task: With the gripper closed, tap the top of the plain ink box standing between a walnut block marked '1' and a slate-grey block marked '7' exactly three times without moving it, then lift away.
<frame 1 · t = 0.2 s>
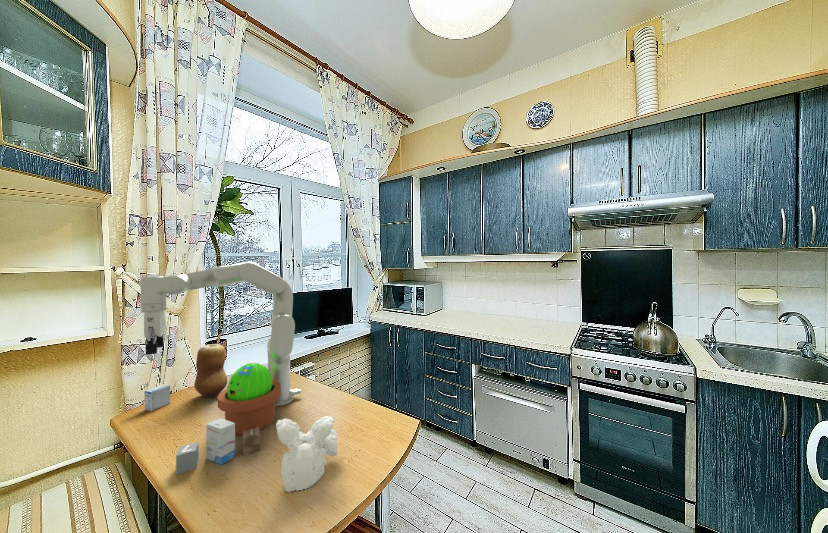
hand: (155, 350, 116), 31 cm above the table, tool pointing down, fingers open, 9 cm apart
slate block 7: (187, 466, 95), on the table
walnut block 1: (251, 449, 104), on the table
butternut squash: (211, 395, 145), on the table
potted cactus: (251, 423, 120), on the table
medicine box: (157, 407, 134), on the table
cauliflower: (309, 468, 94), on the table
ink box: (221, 458, 99), on the table
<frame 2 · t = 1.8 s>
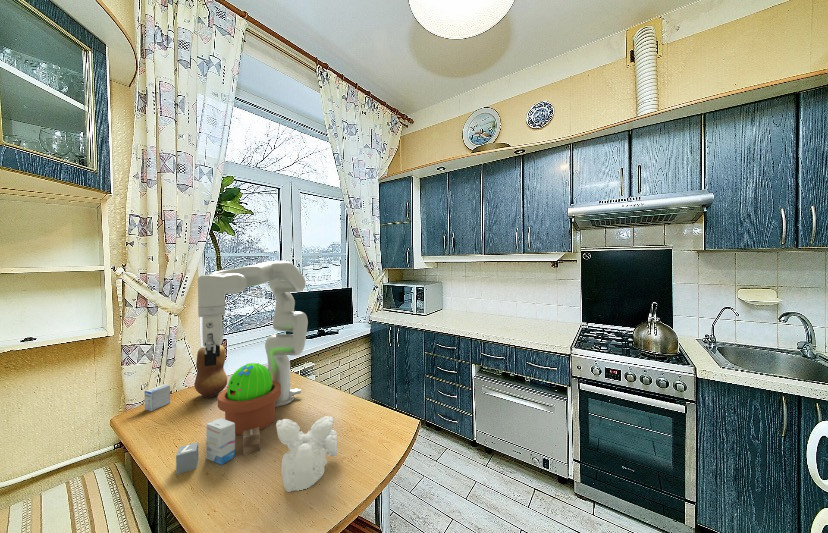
hand: (212, 360, 100), 32 cm above the table, tool pointing down, fingers open, 9 cm apart
nothing on the table moved.
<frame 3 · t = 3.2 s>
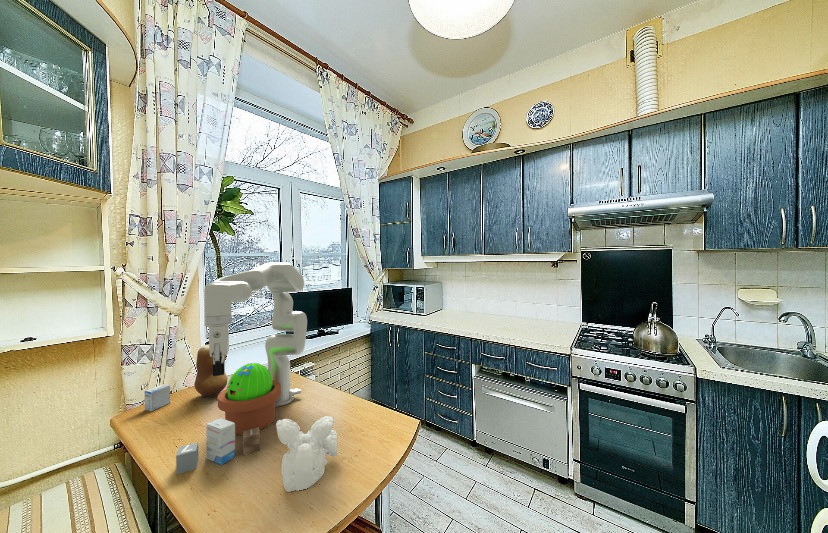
hand: (218, 374, 98), 28 cm above the table, tool pointing down, fingers closed
nothing on the table moved.
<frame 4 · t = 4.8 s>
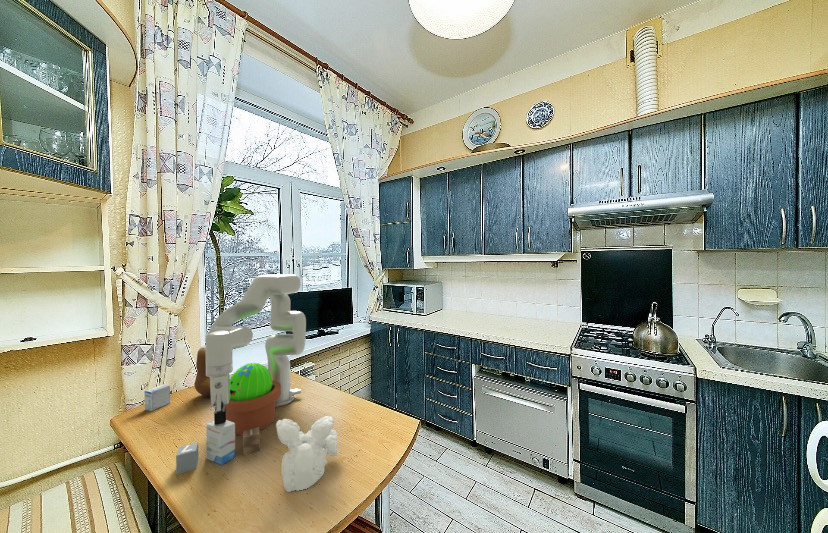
hand: (220, 422, 99), 12 cm above the table, tool pointing down, fingers closed
nothing on the table moved.
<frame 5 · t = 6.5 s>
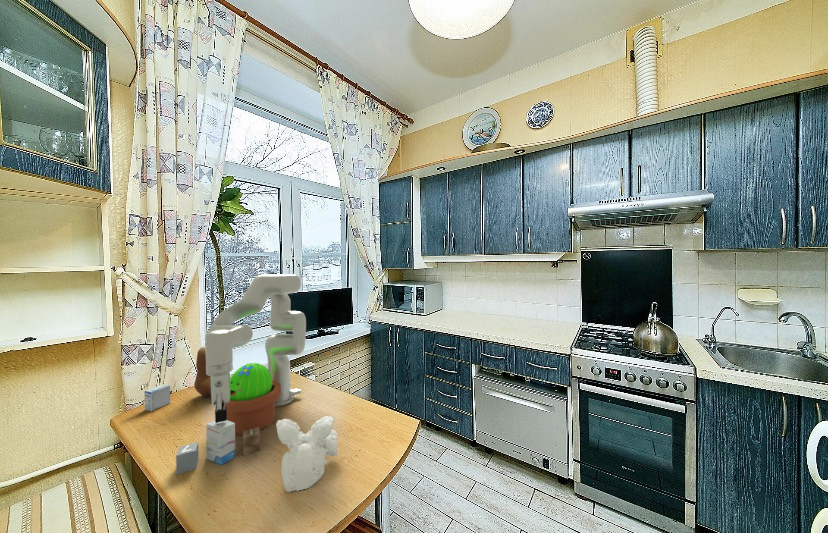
hand: (221, 420, 99), 12 cm above the table, tool pointing down, fingers closed
nothing on the table moved.
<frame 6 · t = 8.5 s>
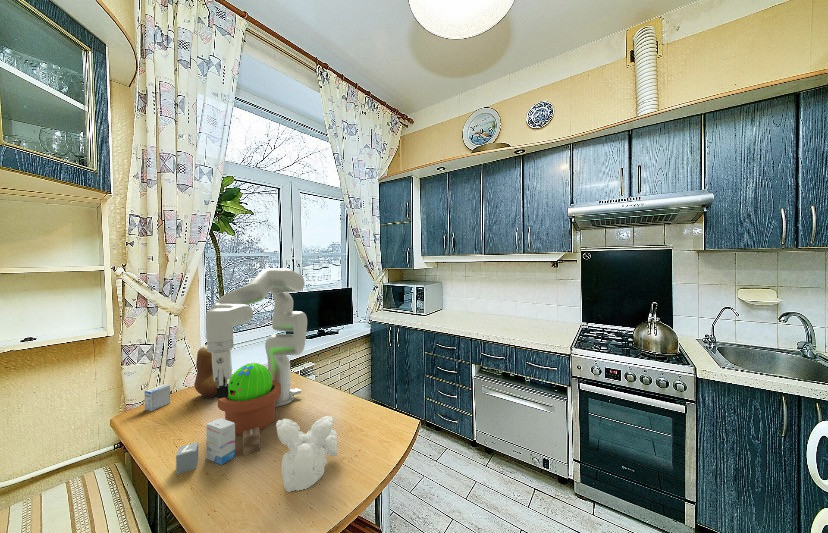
hand: (223, 396, 101), 20 cm above the table, tool pointing down, fingers closed
nothing on the table moved.
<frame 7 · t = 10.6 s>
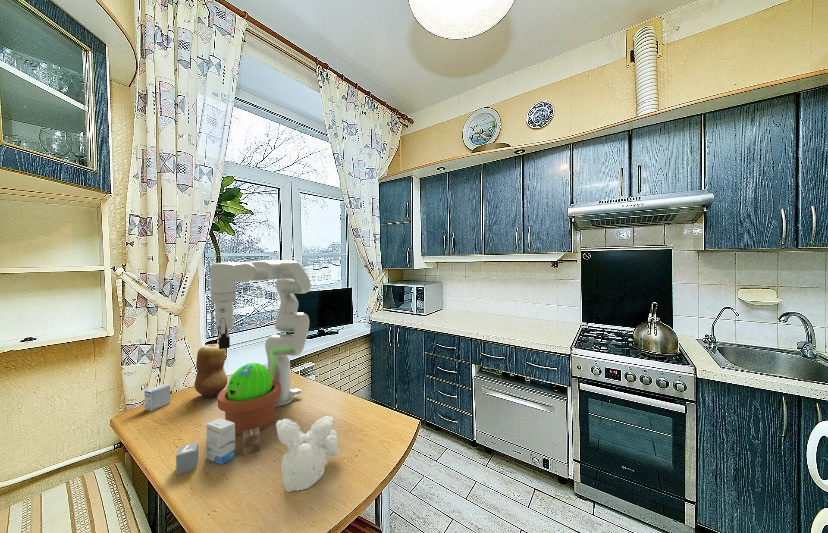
hand: (224, 347, 106), 35 cm above the table, tool pointing down, fingers closed
nothing on the table moved.
at the end: ink box moved 0.2 cm from its start; ink box tilted 0°; ink box touching table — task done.
